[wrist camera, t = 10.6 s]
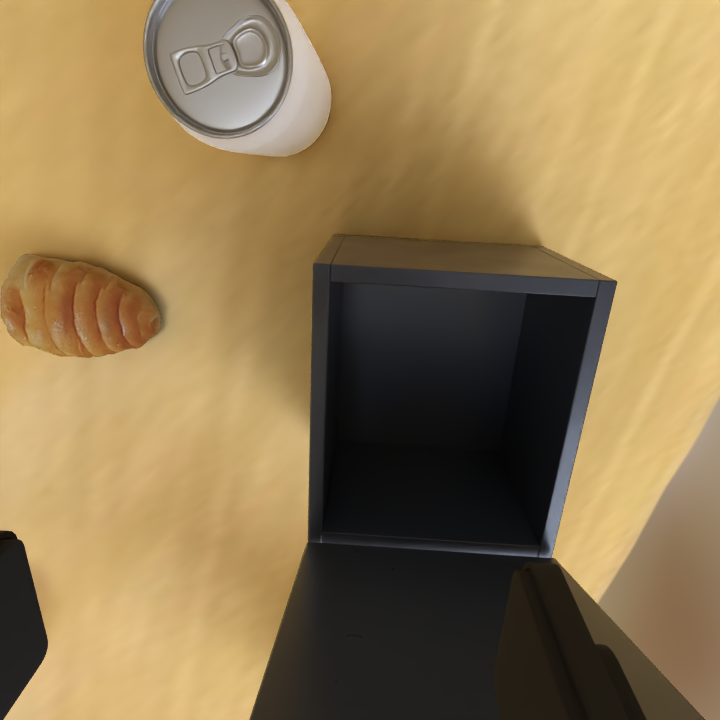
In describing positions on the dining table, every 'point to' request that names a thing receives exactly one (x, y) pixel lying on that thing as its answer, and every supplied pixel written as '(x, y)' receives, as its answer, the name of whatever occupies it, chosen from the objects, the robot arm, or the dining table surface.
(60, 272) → the pastry
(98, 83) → the dining table surface
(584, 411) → the bin
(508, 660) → the robot arm
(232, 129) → the can
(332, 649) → the bin lid
